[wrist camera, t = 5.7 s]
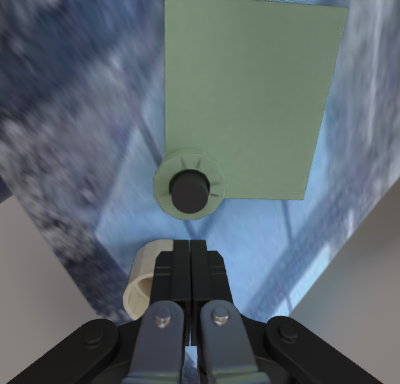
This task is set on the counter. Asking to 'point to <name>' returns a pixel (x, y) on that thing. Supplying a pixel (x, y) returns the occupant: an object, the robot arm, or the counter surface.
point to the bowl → (142, 277)
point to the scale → (244, 96)
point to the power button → (189, 193)
